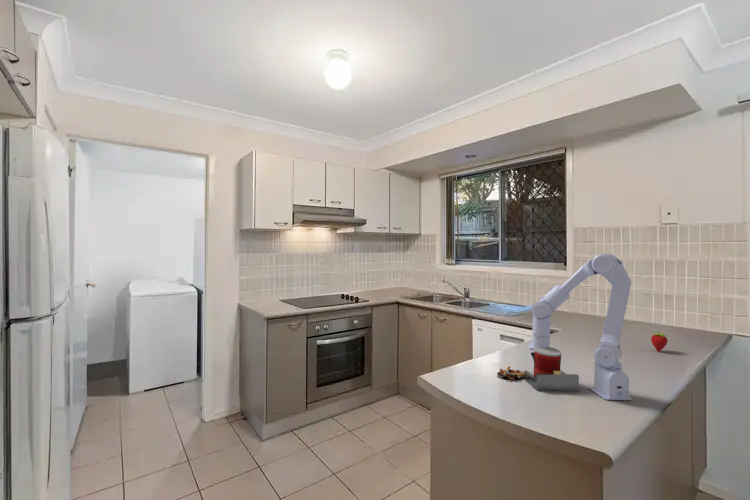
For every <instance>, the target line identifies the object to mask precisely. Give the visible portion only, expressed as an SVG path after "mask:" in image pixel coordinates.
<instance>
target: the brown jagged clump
mask: <svg viewBox="0 0 750 500" xmlns="http://www.w3.org/2000/svg"><path fill="white" fill-rule="evenodd" d="M496 375H497V376H498V377H499V378H503V377H505V378H507V379H509V380H507V382H509V383H513V382H515V381H516V380H515V377H516V378H517V379H521V378H522V379H524V371H523V370H519V369H516V370H515V369H511V365H509V366H507V367H506V368H505V369H503V368H499V371H498V372H497V373H496Z"/></svg>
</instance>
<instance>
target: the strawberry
mask: <svg viewBox="0 0 750 500" xmlns="http://www.w3.org/2000/svg"><path fill="white" fill-rule="evenodd" d="M650 342H651V343H652V346H653V347H654V349H655V350H656V351H657V352H661V351H662V350H663V349H664V348H665V347H666V346H667V344H668V338H667V335H666V334H664V333H661V332H660V331H658V333H657V332H656V333H655V332H652V335H651V338H650Z"/></svg>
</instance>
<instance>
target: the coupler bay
mask: <svg viewBox="0 0 750 500" xmlns="http://www.w3.org/2000/svg"><path fill="white" fill-rule="evenodd" d="M523 372H524V378H523V380H524V381H525V382H526V383H528V384H529V385H530V386H531V387H532V388H533V389H535V391H542V392H543V391H551V392H552V391H553V392H556V391H557V392H579V390H580V389H579V387H580V382H579V381H580V375H579V374H576V373H573V374H572V373H566V372H564V371H562V370H561V369H560V371H559V370H553V374H535V376H534V374H532V373H531V372H529V371H528V370H523Z"/></svg>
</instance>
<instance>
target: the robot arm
mask: <svg viewBox="0 0 750 500" xmlns="http://www.w3.org/2000/svg"><path fill="white" fill-rule="evenodd" d="M596 275H601V276H603V277H604V278H605V280H607V282H608V283H609V284H610V285H611V291H610V295H609V300H608V305H607V310H606V315H605V321H604V326H603V331H602V335H601V338H600V341H599V345H598V347H596V348H595V350H594V352H593V357H594V362H593V363H594V370H593V371H594V373H593V374H594V375H593V376H594V377H593V378H594V381H593V382H594V383H593V386H587V388H588V389H589V390H590V391H592V392H593V393H595V394H597V395H598V396H599V397H601V398H603V399H604V400H608V401H609V400H610V401H611V400H612V401H632V400H633V399H632V397H630V379H629V377H628V375H627V374H626V373H625V372H624V371H623V368H622V367H623V366H622V364H621V362H620V361H619V359H621V357H622V354H623V353H622V349H621V336H622V331H623V327H624V322H625V318H626V317H625V316H626V311H627V306H628V302H629V301H628V300H629V297H630V293H631V287H632V280H631V277H630V276H629V274H628V272H627V270H626V268H625V266H624V264H623V262H622V261H621V260H620V259H619V258H618V257H616V256H615V255H614V254H610V253H599V254H596V255H595V256H594V257H593V258H592V259H590V260H588V261H586V262H585V263H584V264H583V265H581V266H580V267H579V268H578V269H577V270H576V271H575V272H574V273H573V274H572V275H571V276H570V277H569V278H568V279H567V280H566V281H565V282H564V283H563V284H561V285H554V286H551V287H549V288H548V289H549V291H548V292H547V293H545V295H543V296H540V297H539V298H538V299H539V301H534V302H533V304H532V306H531V308H530V310H531V314H532V329H531V332H532V333H531V341H528V346H527V348H528V350H530V351H533V352H530V354H531V357H532V359H533V361H534V358H535V348H536V347H540V348H548V347H550V342H551V338H550V337H551V316H552V315H553V313H554V311H556V310H557V309H559V307H560V306H562V305H563V304H564V303H565V302H566V301H567V300H568V299H570V292H572V291H573V290H574V289H575V288H576V287H578V286H579V285H580V284H581V283H583V282H584V281H585V280H586V279H588V278H589V277H593V276H596Z"/></svg>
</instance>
